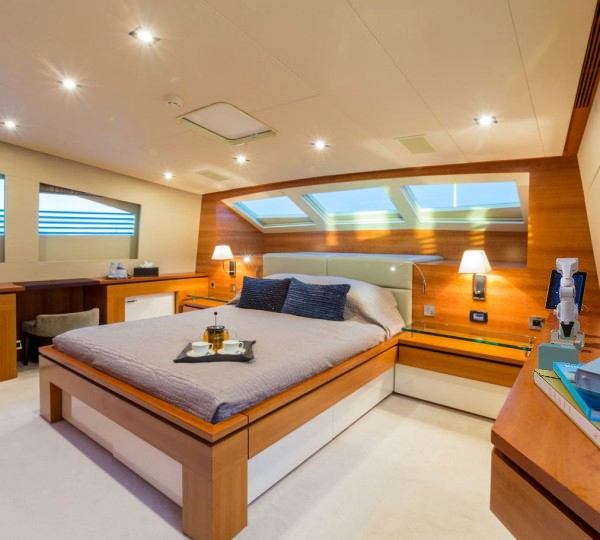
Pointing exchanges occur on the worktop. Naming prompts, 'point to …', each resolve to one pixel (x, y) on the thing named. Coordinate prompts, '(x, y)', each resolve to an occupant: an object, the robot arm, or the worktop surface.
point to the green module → (567, 337)
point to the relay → (578, 345)
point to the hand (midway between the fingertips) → (567, 336)
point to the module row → (556, 340)
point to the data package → (556, 355)
